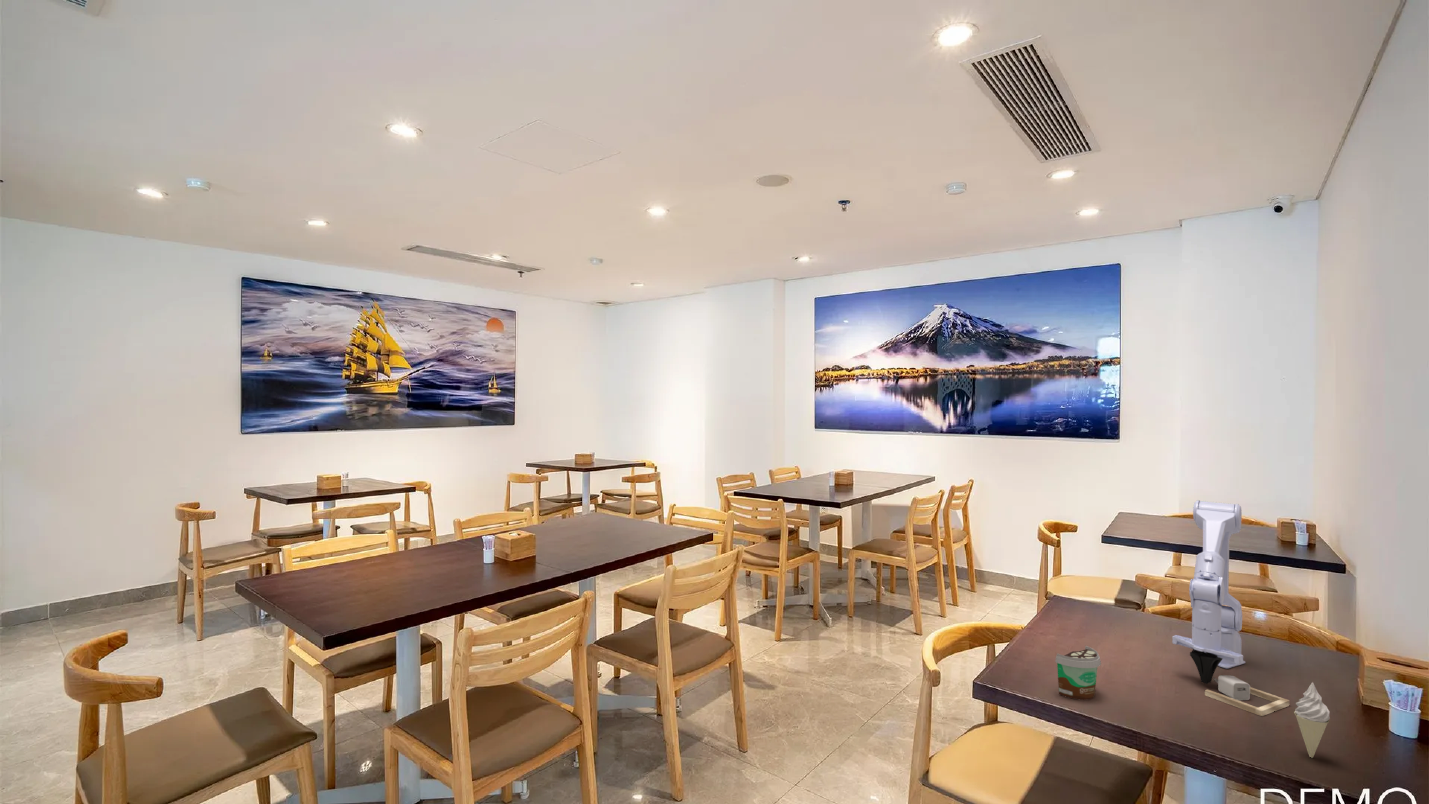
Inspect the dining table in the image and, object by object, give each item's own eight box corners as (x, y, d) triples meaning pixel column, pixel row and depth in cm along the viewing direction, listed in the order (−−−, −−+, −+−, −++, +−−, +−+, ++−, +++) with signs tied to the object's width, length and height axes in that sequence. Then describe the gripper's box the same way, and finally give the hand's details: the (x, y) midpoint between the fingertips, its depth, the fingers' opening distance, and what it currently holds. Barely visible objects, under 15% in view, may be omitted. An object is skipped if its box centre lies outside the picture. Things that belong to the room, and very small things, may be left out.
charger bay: (1232, 686, 155) (1232, 681, 155) (1289, 705, 145) (1289, 700, 145) (1204, 695, 150) (1204, 690, 150) (1261, 716, 140) (1261, 711, 140)
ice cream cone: (1332, 767, 120) (1333, 689, 120) (1297, 759, 123) (1297, 682, 123) (1324, 755, 124) (1325, 679, 124) (1290, 747, 127) (1291, 673, 127)
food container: (1080, 706, 143) (1080, 663, 143) (1055, 695, 149) (1055, 653, 149) (1112, 695, 149) (1112, 654, 149) (1086, 685, 154) (1086, 645, 155)
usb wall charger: (1233, 700, 148) (1233, 683, 148) (1209, 687, 154) (1209, 670, 154) (1249, 700, 148) (1249, 683, 148) (1225, 687, 154) (1225, 670, 155)
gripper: (1165, 620, 160) (1165, 673, 160) (1232, 639, 147) (1231, 697, 147) (1181, 616, 163) (1181, 668, 163) (1248, 635, 150) (1247, 692, 150)
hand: (1206, 682), depth 155 cm, fingers closed
